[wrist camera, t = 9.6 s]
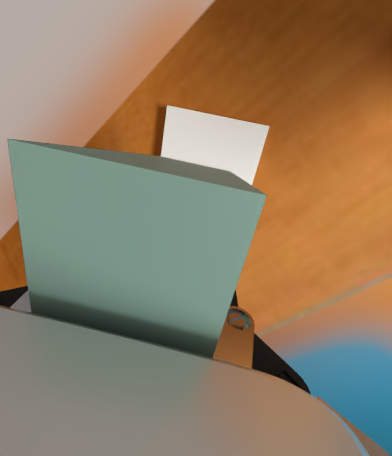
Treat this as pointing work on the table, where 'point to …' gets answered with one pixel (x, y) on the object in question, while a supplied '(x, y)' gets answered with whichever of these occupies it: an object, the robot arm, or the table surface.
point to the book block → (132, 241)
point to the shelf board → (213, 141)
